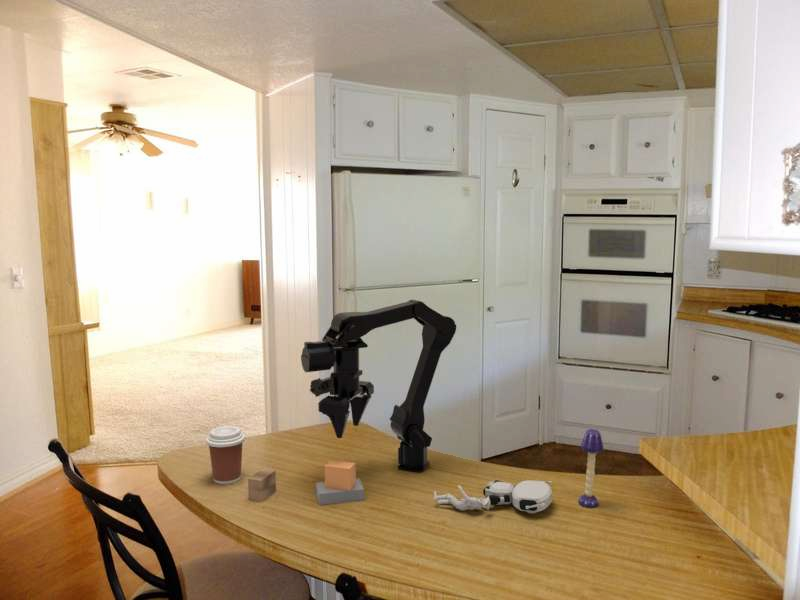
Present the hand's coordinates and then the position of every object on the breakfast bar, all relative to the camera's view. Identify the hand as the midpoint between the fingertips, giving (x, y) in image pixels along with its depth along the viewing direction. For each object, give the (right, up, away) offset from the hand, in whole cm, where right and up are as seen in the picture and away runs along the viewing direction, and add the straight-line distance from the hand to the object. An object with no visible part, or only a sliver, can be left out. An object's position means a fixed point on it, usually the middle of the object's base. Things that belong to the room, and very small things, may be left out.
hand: (347, 431), depth 150 cm
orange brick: (-1, -11, -8) cm, 13 cm away
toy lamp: (+54, -14, -11) cm, 57 cm away
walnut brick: (-19, -13, -6) cm, 24 cm away
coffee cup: (-29, -12, +3) cm, 32 cm away
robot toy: (+38, -14, -11) cm, 42 cm away
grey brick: (-1, -14, -7) cm, 15 cm away
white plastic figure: (+26, -14, -14) cm, 32 cm away
